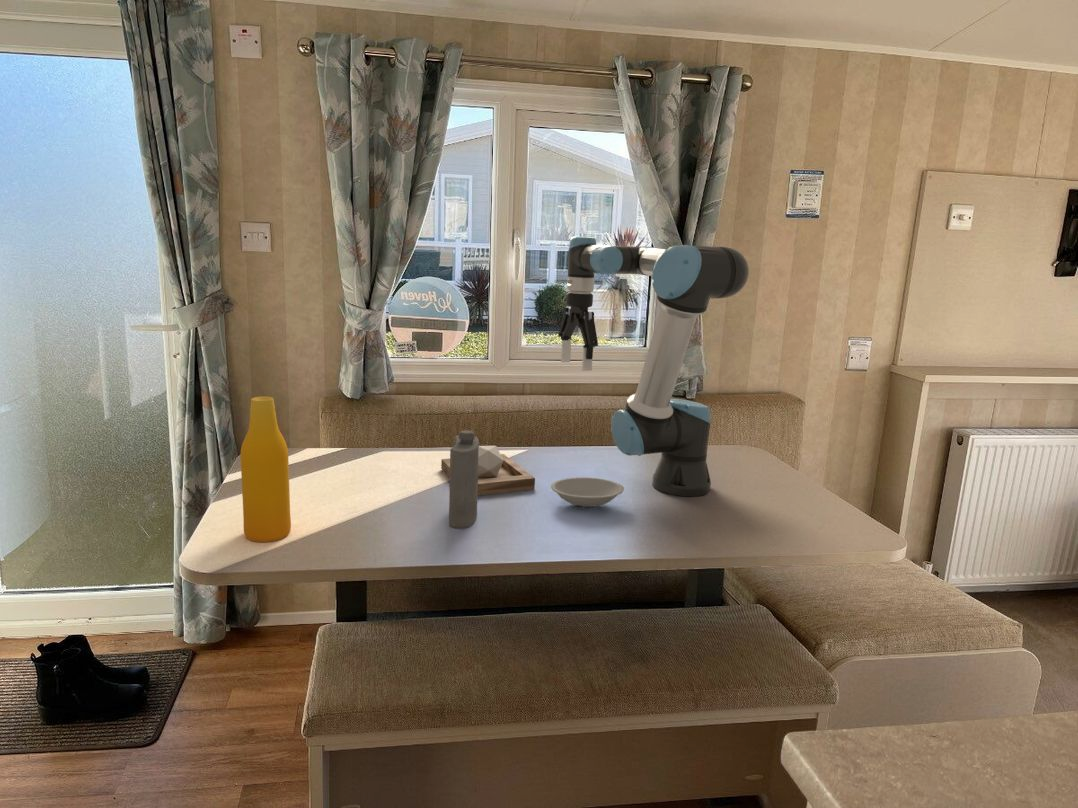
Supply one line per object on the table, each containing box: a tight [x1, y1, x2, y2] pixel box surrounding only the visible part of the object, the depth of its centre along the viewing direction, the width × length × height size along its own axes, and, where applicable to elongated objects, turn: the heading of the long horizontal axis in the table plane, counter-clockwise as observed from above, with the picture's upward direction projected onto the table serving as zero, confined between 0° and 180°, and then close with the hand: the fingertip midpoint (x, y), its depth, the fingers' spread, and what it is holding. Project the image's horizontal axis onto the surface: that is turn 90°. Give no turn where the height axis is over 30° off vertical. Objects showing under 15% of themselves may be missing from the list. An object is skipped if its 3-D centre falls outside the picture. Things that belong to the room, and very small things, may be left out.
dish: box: [550, 476, 625, 509], centre depth 178 cm, size 18×14×5 cm
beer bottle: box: [239, 396, 292, 543], centre depth 151 cm, size 9×9×29 cm
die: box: [478, 445, 504, 477], centre depth 194 cm, size 8×9×10 cm
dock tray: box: [440, 453, 536, 496], centre depth 195 cm, size 22×18×3 cm
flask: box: [448, 429, 480, 529], centre depth 167 cm, size 15×6×20 cm, turn 1°
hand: (575, 366), depth 215 cm, fingers open, 13 cm apart
